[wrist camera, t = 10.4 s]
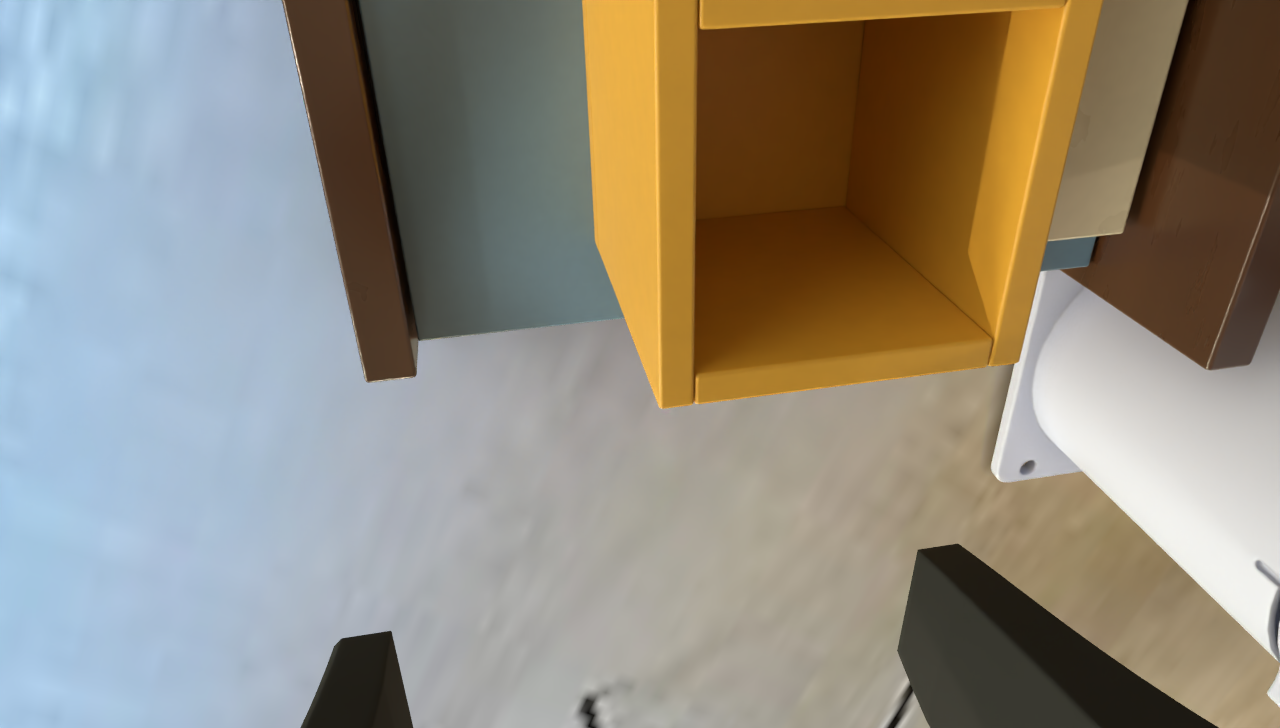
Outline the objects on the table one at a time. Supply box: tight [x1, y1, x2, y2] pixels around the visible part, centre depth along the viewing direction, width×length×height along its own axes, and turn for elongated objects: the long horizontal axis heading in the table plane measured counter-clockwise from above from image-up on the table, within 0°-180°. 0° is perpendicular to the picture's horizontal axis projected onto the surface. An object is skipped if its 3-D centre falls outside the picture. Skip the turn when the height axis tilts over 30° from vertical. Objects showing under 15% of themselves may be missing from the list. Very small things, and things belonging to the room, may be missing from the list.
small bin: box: [582, 0, 1104, 409], centre depth 13 cm, size 5×5×6 cm
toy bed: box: [282, 0, 1280, 383], centre depth 16 cm, size 17×10×6 cm, turn 91°
